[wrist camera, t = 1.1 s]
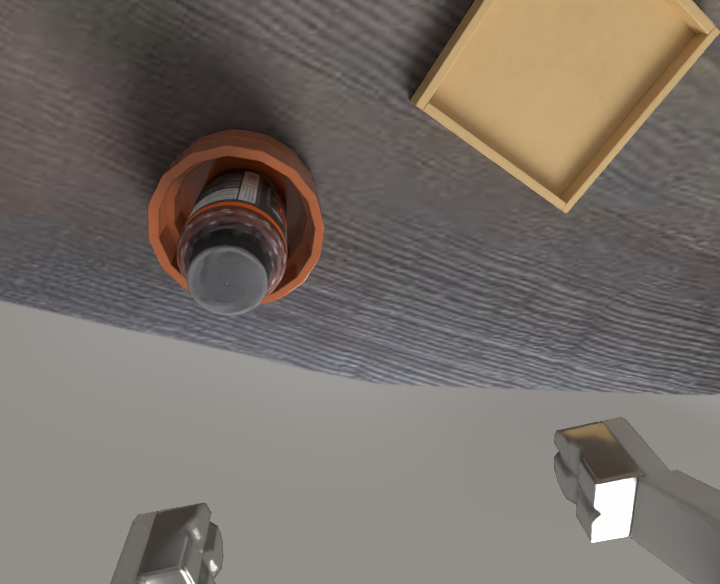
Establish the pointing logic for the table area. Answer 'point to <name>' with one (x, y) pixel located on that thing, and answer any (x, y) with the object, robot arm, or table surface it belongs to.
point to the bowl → (227, 153)
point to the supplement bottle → (234, 242)
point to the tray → (560, 82)
